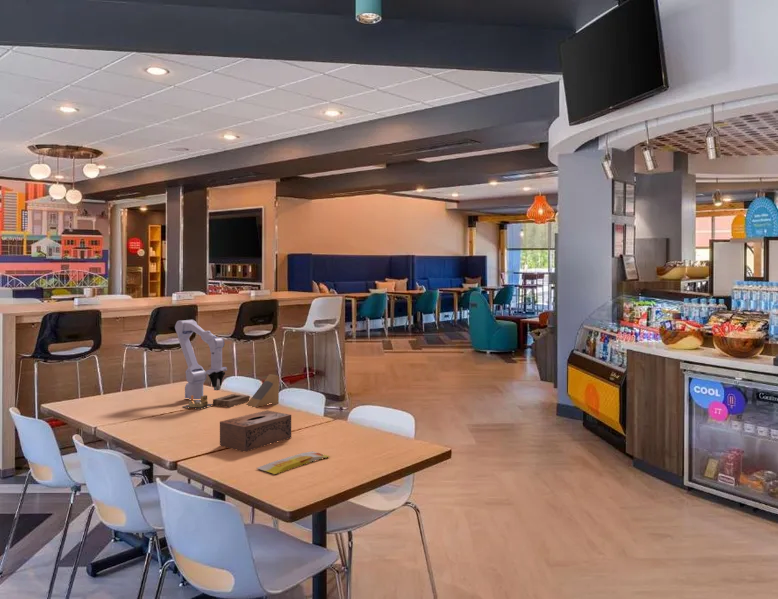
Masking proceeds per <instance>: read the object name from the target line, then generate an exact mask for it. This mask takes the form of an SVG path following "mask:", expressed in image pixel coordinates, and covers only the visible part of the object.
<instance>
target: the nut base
mask: <svg viewBox="0 0 778 599" xmlns="http://www.w3.org/2000/svg"><path fill="white" fill-rule="evenodd" d="M190 401H193V395H191V400H190ZM196 402H201V400H196ZM211 405H214V404H213V403H208V405H207V406H211ZM207 406H203V407H190V406H189V404H187V405H186V404H185V405H183V406H182V407H189V408H196V409H195V410H197V409H200V410H202V409H201V408H204V407H207ZM214 406H215V405H214ZM211 407H212V406H211ZM189 408H188V409H189ZM207 408H208V407H207ZM204 409H205V408H204Z"/></svg>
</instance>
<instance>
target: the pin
mask: <svg viewBox="0 0 778 599" xmlns="http://www.w3.org/2000/svg"><path fill="white" fill-rule="evenodd" d="M220 390H221V386H220V378H217V386H216V387H213V391H220Z"/></svg>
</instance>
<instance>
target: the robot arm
mask: <svg viewBox="0 0 778 599" xmlns="http://www.w3.org/2000/svg"><path fill="white" fill-rule="evenodd" d="M174 329H175V332H176V335H177V339H178V343H179V344H180V347H181V351H182V354H183V357H184V359H185V363H186V365H187V368H186V370H185V380H186V382H187V383H186V384H185V385H184V386H185V387H184V398H189V399H191V395H193V399H201V396H204V383H205V381H206V380H207V376H208V378H209V379H210V382H211V385H212V387H213V388H214V387H216V386H217V378H220V387H221V385H222V382H223V378H224V376H225V375H226V372H227V371H228V367H227V366H223V348H224V347H225V339H224V338H223V337H220V336H219V337H218V336H217V335H215V334H213V333H212V332H211V330H205V329H204V328H202V327H201V326H200V325H198V322H197V321H195V320H194V319H186V320H182V319H181V320H177V321H176V323H175V325H174ZM193 333H195V334H197V335H198V336H200V339H201V340H202V341H203V342H204V343H206V344H207V345H208V347H209V352H210V368H209V369H207V370H204V367H203V366H202V365H200V364H199V363H198V359H197V357H196V354H195V351H194V349H193V345H192V342H191V341H190V337H191V336H192V335H193Z"/></svg>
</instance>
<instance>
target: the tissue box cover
mask: <svg viewBox="0 0 778 599" xmlns="http://www.w3.org/2000/svg"><path fill="white" fill-rule="evenodd" d="M290 437H291V438H292V414H290V413H284V412H279V411H278V412H277V411H272V410H267V409H266V410H263V411H258V412H254V413H249V414H245V415H242V416H241V415H240V416H238V417H233V418H229V419H225V420H221V421H219V446H220V445H221V446H220V447H223V446H225V448H227V447H229V448H228V449H231V448H233V449H232V450H235V449H237V450H236V451H239V450H241V451H240V452H243V451H246V452H248V450H249V451H252V450H255V449H254V448H256V449H258V448H257V447H259V448H262V447H265V446H264V445H266V446H268V445H267V444H269V445H271V444H270V443H272V444H275V443H278V442H277V441H279V442H282V441H284V439H285V440H288V439H287V438H289V439H291V438H290ZM281 440H282V441H281ZM274 442H275V443H274ZM261 446H262V447H261ZM251 449H252V450H251Z"/></svg>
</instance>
